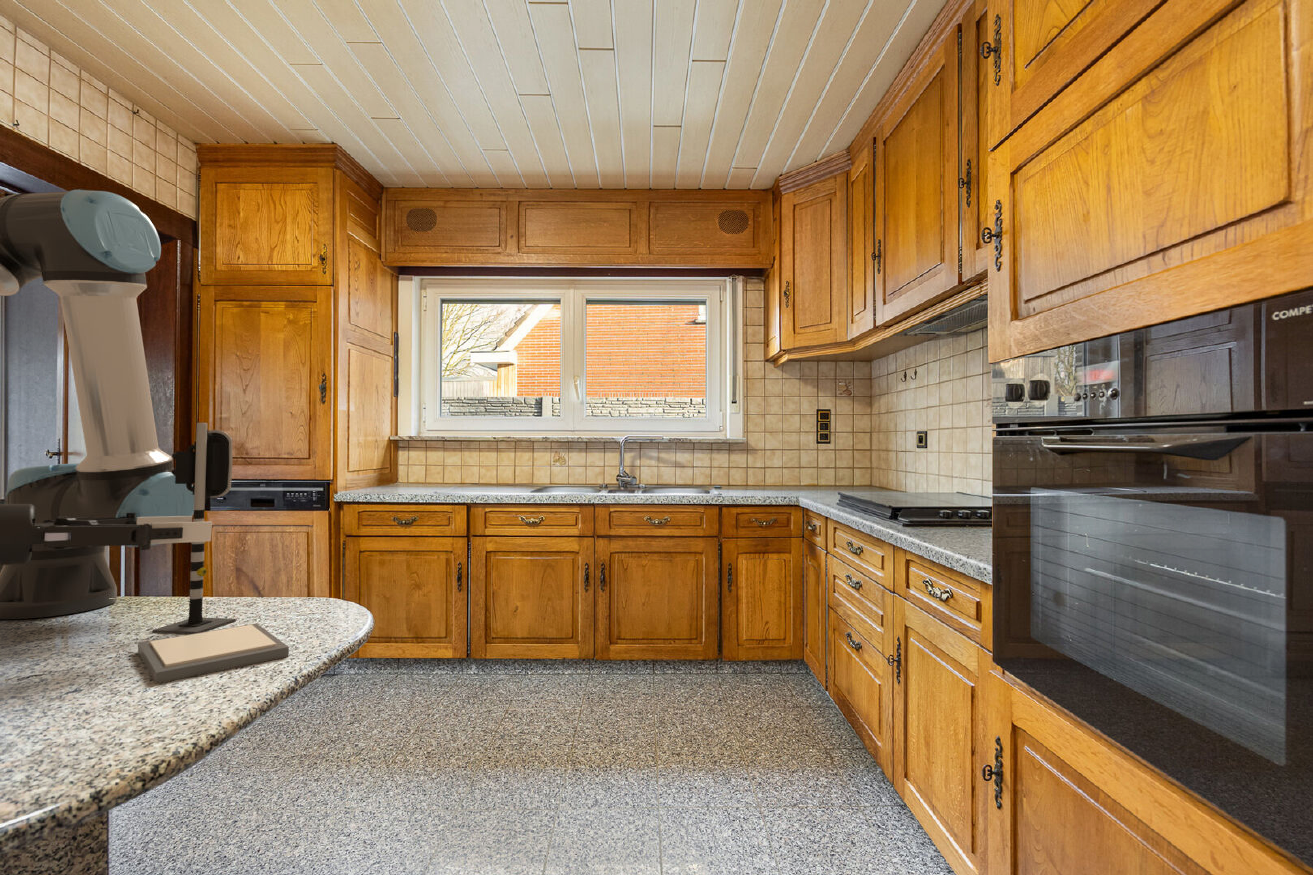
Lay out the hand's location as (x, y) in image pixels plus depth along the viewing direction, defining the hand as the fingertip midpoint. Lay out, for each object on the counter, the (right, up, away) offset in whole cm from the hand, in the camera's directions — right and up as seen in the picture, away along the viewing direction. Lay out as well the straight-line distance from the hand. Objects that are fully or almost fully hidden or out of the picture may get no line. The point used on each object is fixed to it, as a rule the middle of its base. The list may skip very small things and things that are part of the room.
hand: (201, 527), depth 89 cm
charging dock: (+11, -14, -12) cm, 22 cm away
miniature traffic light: (-1, -15, 0) cm, 15 cm away
